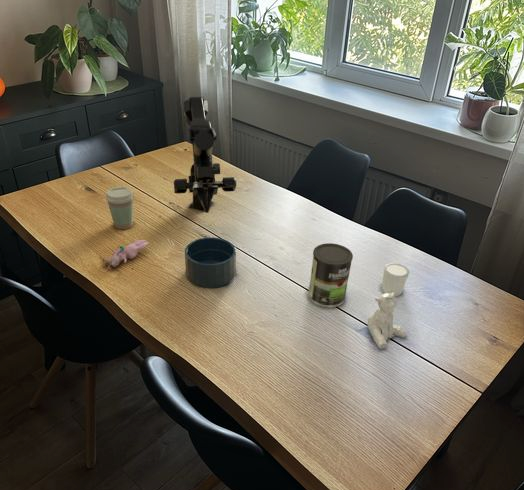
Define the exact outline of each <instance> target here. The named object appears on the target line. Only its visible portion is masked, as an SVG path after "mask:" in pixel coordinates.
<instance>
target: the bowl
mask: <svg viewBox="0 0 524 490" xmlns="http://www.w3.org/2000/svg"><path fill="white" fill-rule="evenodd" d="M184 261H185V262H184V264H185V275H186V278H187V279H188V280H189V282H190V283H192V284H193V285H195V286H197V287H199V288H204V289H205V288H206V289H216V288H221V287H224V286H226V285H228V284H230V283H231V282H232V280H234V278H235V277H236V274H237V248H236V246H235V245H234V244H233V243H232V242H230V241H229V240H227V239H224V238H220V237H215V236H214V237H202V238H198V239H195V240H192V241H191V242H190V243H188V244H187V245H186V247H185V248H184Z"/></svg>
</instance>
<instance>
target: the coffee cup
mask: <svg viewBox="0 0 524 490" xmlns="http://www.w3.org/2000/svg"><path fill="white" fill-rule="evenodd" d="M105 200H106V202H107V204H108V207H109V212H110V215H111V219H112V223H113V226H114V227H115V229H118V230H127V229H130V228H131V227H132V226H133V225H134V224H133V223H134V221H133V220H134V216H133V215H134V193H133V192H132V190H131V189H130V188H128V187H125V186H116V187H111V188H110V189H108V190H107V191H106V195H105Z"/></svg>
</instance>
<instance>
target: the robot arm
mask: <svg viewBox="0 0 524 490" xmlns="http://www.w3.org/2000/svg"><path fill="white" fill-rule="evenodd" d="M182 103H183V104H182V106H183V107H182V108H183V116H185V121H186V123H187V125H188V126H189V127H190V128H188V132H187V134H188V141H189V143H191V145H192V157H193V164H192V165H191V166H190V171H189V175H188V179H187V178H175V179H174V180H173V190H174V191H173V192H174V194H186V193H187V191H189V193H190V194H191V193H192V202H191V203H190V204H189V208H191V209H192V208H193V209H197V210H201V211H204V212H205V214H207V213H209V212H210V208H211V207H212V205H214V201H212V200H213V199H214V196H216V195H217V194H218V191H219V189H222V191H223V192H225V193H228V192H229V193H230V192H235V191H236V189H237V179H236V178H235V177H234V176H232V177H231V176H230V177H229V176H228V177H222V180H219V181H218V180H217V181H216V175H220V174H221V164H220V162H217V163H214V161H213V152H214V151H213V150H214V144H215V141H217V133H216V131H215V130H214V128H213V127H212V126H211V125H212V124H211V122H210V120H207V116H208V115H209V101H207V100H206V99H205V98H204V97H202V96H190V97H188V99H186V100H185V101H183V102H182Z"/></svg>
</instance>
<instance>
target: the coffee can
mask: <svg viewBox="0 0 524 490" xmlns="http://www.w3.org/2000/svg"><path fill="white" fill-rule="evenodd" d="M312 255H313V256H312V264H311V270H310V271H311V272H310V279H309V286H308V292H307V295H308V298H309V300H310V301H311V302H312V303H313V304H315V305H317V306H319V307H323V308H328V309H329V308H330V309H331V308H336V307H339V306H341V305H342V304H344V302H345V300H346V293H347V288H348V283H349V277H350V271H351V267H352V261H353V258H354V255H353V253H352V251H351V250H350V249H349V248H348V247H346V246H344V245H342V244H338V243H331V242H329V243H327V242H326V243H321V244H319V245H316V246H315V247H314V249H313V251H312Z"/></svg>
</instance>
